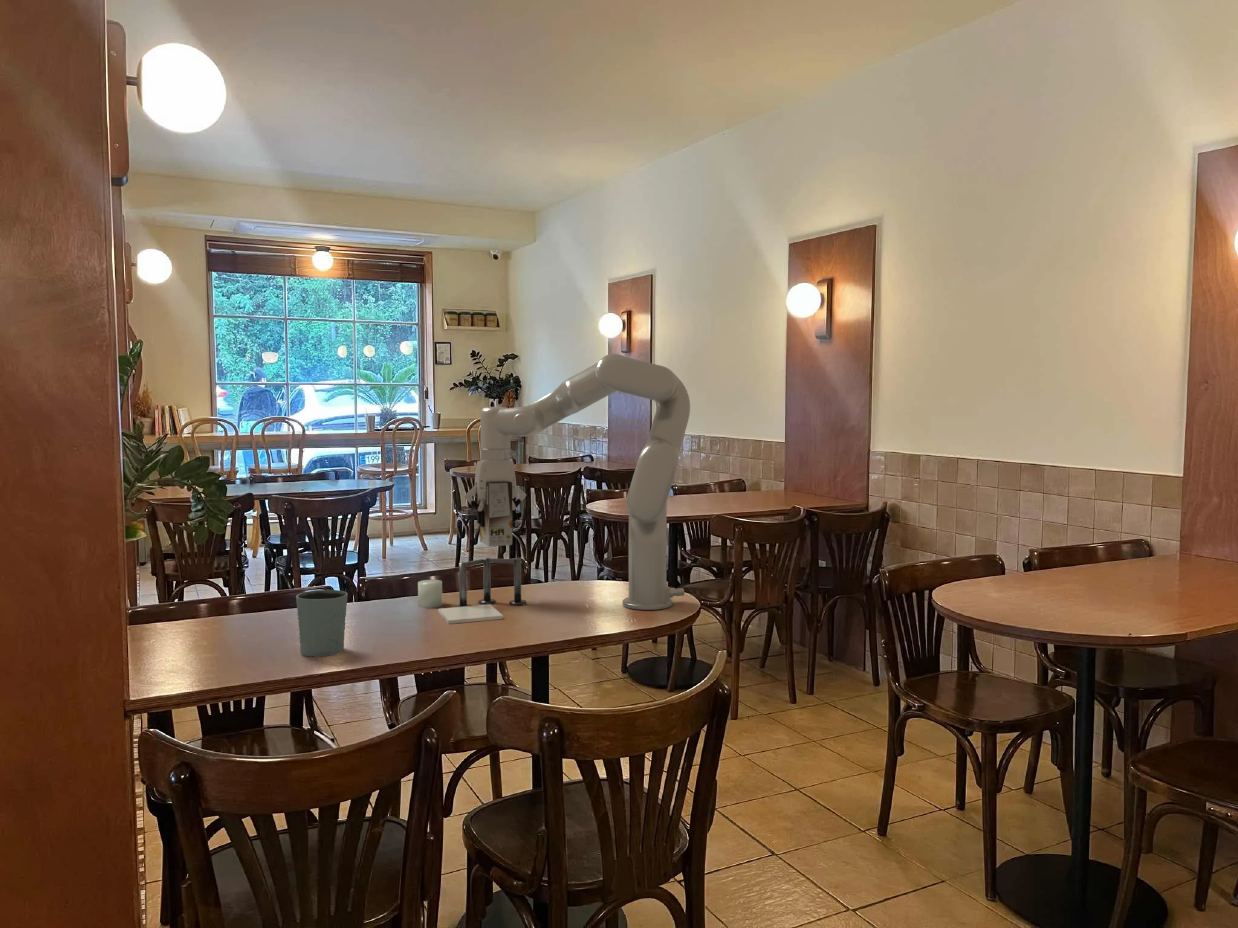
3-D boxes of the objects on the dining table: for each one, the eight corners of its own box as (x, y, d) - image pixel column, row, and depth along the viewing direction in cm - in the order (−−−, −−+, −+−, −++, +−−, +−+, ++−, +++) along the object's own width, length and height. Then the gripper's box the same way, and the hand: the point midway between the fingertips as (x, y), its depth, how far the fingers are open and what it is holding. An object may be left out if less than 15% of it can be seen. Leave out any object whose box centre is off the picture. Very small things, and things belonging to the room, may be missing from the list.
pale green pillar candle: (440, 601, 238) (439, 579, 238) (444, 606, 233) (444, 583, 232) (416, 603, 236) (416, 580, 236) (420, 608, 231) (419, 585, 230)
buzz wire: (519, 598, 242) (519, 554, 241) (528, 604, 234) (528, 559, 233) (449, 604, 235) (449, 559, 235) (456, 611, 228) (455, 564, 227)
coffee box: (513, 545, 232) (513, 481, 231) (489, 546, 230) (488, 482, 229) (502, 540, 241) (502, 478, 240) (478, 541, 238) (478, 479, 237)
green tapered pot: (289, 651, 192) (287, 594, 191) (334, 642, 199) (332, 587, 198) (311, 660, 185) (310, 601, 184) (357, 650, 192) (356, 593, 191)
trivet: (490, 607, 231) (490, 604, 231) (502, 618, 219) (502, 615, 219) (438, 611, 227) (438, 608, 227) (448, 623, 215) (448, 620, 214)
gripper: (524, 454, 240) (524, 522, 241) (458, 455, 234) (458, 525, 235) (532, 456, 233) (532, 526, 234) (464, 457, 227) (465, 529, 228)
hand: (495, 525), depth 235 cm, fingers closed on coffee box, 6 cm apart
